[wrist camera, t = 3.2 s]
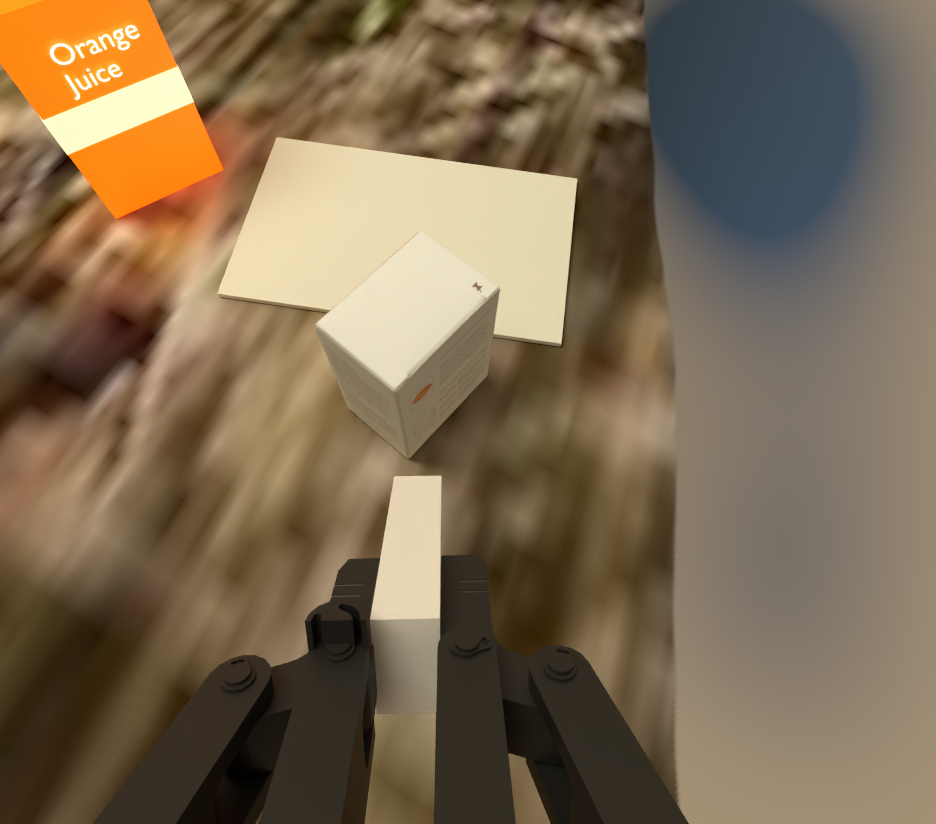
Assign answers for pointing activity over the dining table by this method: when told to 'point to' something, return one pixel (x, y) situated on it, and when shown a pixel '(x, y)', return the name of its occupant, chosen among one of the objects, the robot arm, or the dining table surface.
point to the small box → (412, 341)
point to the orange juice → (108, 95)
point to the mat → (403, 230)
